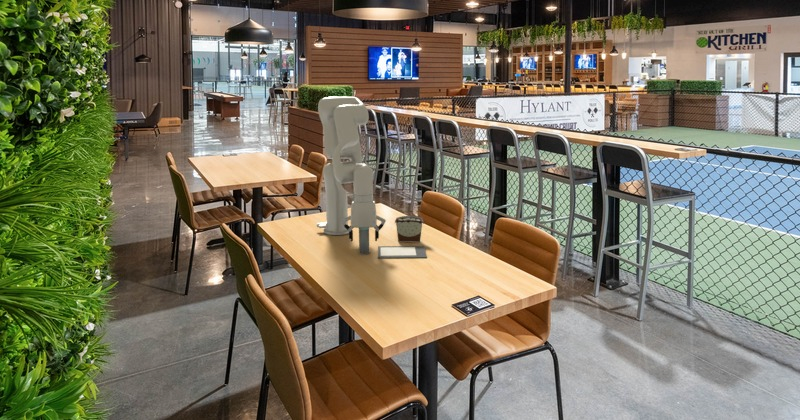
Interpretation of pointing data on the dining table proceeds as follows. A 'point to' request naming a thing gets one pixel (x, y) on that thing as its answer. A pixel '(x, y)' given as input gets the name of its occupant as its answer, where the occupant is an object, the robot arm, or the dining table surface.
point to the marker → (364, 240)
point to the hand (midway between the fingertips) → (364, 240)
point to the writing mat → (401, 252)
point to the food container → (409, 228)
